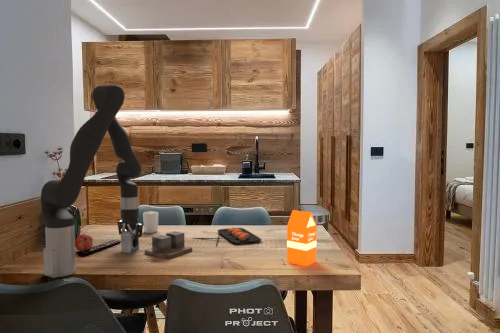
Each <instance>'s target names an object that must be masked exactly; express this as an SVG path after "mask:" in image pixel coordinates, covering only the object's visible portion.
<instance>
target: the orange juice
mask: <svg viewBox="0 0 500 333" xmlns="http://www.w3.org/2000/svg"><path fill="white" fill-rule="evenodd" d="M317 226H318V225H317V224H316V220H315V218H314V215H313V212H310V211H303V210H297V209H296V210H295V209H292V210H291V213H290V216H289V219H288V223H287V225H286V233H287V234H286V238H287V239H286V262H287V263H289V262H290V263H289V264H294V265H299V266H303V267H308V266H310V265H313V264H314V262H315V263H316V262H317V241H318V239H317Z"/></svg>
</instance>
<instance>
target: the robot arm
mask: <svg viewBox="0 0 500 333" xmlns="http://www.w3.org/2000/svg"><path fill="white" fill-rule="evenodd" d="M91 96H92V101H93V104H94V105H95V108H96V110H97V111H96V112H95V113H94V114H93V115H92V117H90V118H89V119H88V120H86V121H85V122H84V123H83V124H81V126H80V127H79V129H78V130H77V132H76V134H75V136H74V138H73V140H72V141H71V143H70V148H69V164H68V166H67V169H66V171H65V172H64V175H63V176H62V178H61V179H59V180H58V179H53V180H51V179H50V180H48V181H47V182H46V183H44V185H43V186H42V189H41V192H40V205H41V214H42V219H43V221H44V224H45V225H44V226H45V230H44V231H45V247H44V248H43V274H44V276H46V277H49V278H52V279H56V278H61V277H67V276H70V275H73V274H74V273H76V247H75V239H76V238H75V237H76V236H75V218H74V216H73V215H72V214H71V213H70V211H69V210H68V208H69V207H71V206H73V205H74V203H75V202H76V201H77V199H78V198H79V195H80V193H81V189H82V186H83V184H84V181H85V178H86V175H87V174H88V171H89V169H90V167H91V164H92V163H93V161H94V158H95V156H96V155H97V152H98V150H99V148H100V147H101V145H102V142H103V140H104V138H105V136H106V134H107V133H108V136H109V138H110V140H111V145H112V147H113V151H114V154H115V156H116V157H117V158H119V159H121V161H119V162H118V163H117V164H116V167H115V168H116V169H115V172H116V177H117V181H118V184H119V187H120V201H119V202H120V204H119V206H120V208H119V209H120V219H121V220H118V221H117V222H116V223H117V230H118V235H120V236H121V233H122V232H124V231H130V232H131V233H132V237H133V247H137V246H138V238H139V239H140V238H141V237H142V236H143V230H144V223H139V221H138V219H139V217H140V211H139V210H140V206H139V193H138V192H139V190H138V189H139V188H138V184H137V183H135V182H133V181H132V180H131V178H134V179H135V178H137V177H139V176H140V175H141V174H142V165H141V162H140V160H139V159H138V156H137V155H136V153H135V152H134V150H133V148H132V144H131V141H130V137H129V135H128V133H127V132H126V130H125V128H124V127H123V125H121V123H120V122H119V120H118V118H117V117H116V116H117V114H118V113H119V111H120V110H121V108H122V106H123V105H124V102H125V91H124V89H123V87H121V86H120V85H117V84H103V85H97V86H96V87H94V88H93V91H92V95H91ZM134 230H135V231H134ZM134 233H135V234H136V235H135V234H134ZM138 234H139V235H138Z"/></svg>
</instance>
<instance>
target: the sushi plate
mask: <svg viewBox="0 0 500 333" xmlns="http://www.w3.org/2000/svg"><path fill="white" fill-rule="evenodd" d="M217 232H218V235H217V237H192V239H193V240H194V239H196V240H213V239H215V240H217V241H216V243H215V244H216V245H215V247H218V244H219V239H222V240H224V239H225V240H226V239H227V240H228V241H230V243H233V244H249V243H250V244H251V243H255V242H261V241H262V238H260V237H259V236H258V235H256V234H254V233H253V232H250V231H249V230H247V229H245V228H243V227H233V226H232V227H229V228H220V229H217ZM220 235H222V237H220Z"/></svg>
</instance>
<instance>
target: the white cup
mask: <svg viewBox="0 0 500 333" xmlns="http://www.w3.org/2000/svg"><path fill="white" fill-rule="evenodd" d="M142 219H143V222H142V223H143V230H144V233H146V234H152V233H157V232H158V230H159V211H154V210H153V211H152V210H151V211H144V212H143V213H142Z"/></svg>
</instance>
